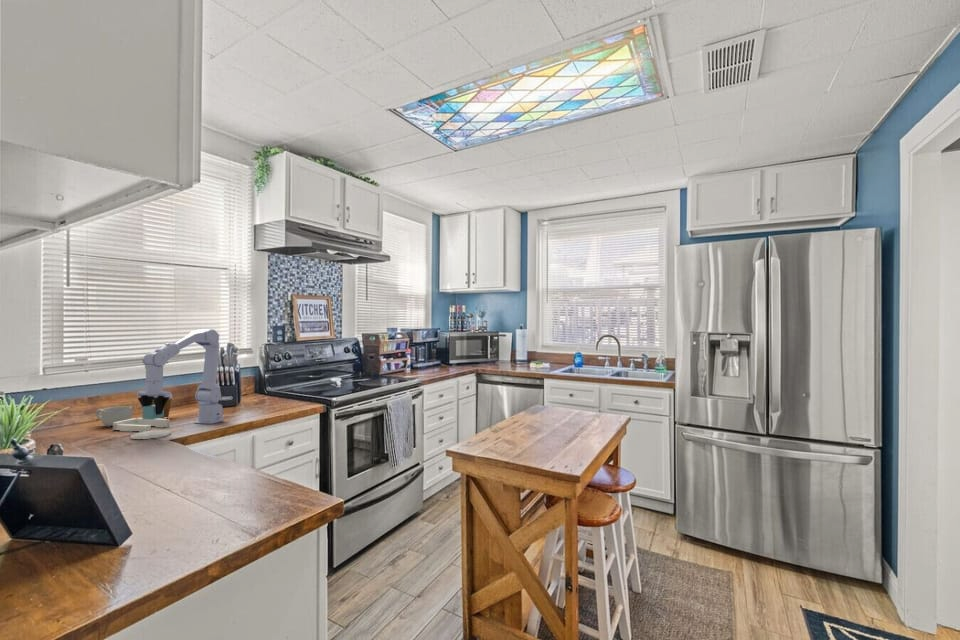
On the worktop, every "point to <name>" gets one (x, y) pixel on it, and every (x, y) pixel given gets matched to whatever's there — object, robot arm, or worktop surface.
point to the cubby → (140, 424)
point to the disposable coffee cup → (166, 406)
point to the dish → (151, 434)
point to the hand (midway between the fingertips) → (153, 414)
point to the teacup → (114, 414)
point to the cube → (151, 412)
